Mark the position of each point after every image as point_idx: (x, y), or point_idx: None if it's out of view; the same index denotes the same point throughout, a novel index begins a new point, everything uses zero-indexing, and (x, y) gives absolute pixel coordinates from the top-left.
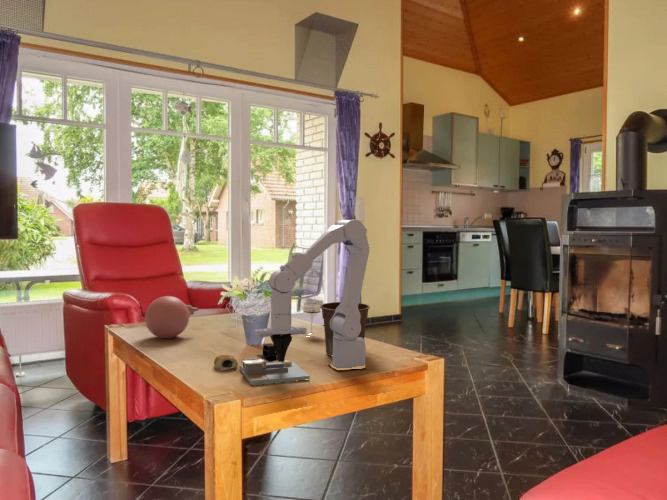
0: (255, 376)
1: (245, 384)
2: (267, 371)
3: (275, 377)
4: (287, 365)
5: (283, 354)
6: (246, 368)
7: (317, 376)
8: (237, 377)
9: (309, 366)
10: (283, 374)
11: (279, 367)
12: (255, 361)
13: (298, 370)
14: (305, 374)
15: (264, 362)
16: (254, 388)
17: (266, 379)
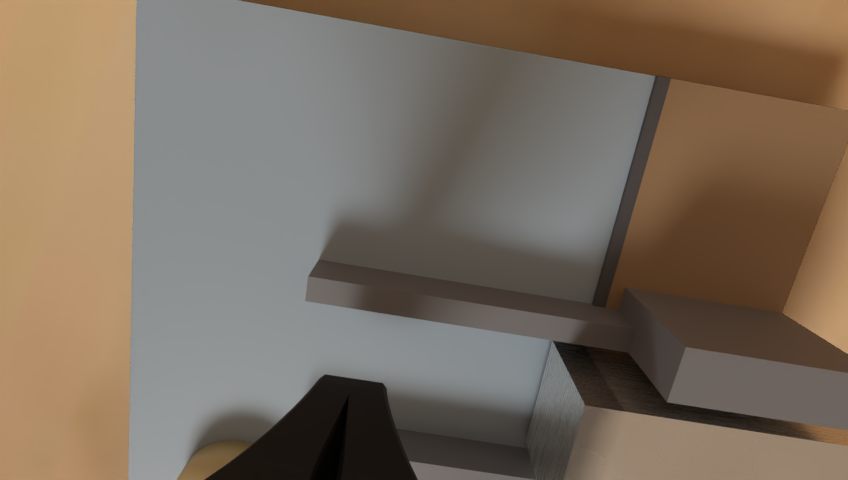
0: (728, 249)
1: (838, 184)
2: (561, 305)
3: (546, 119)
4: (241, 447)
5: (320, 419)
6: None
7: (27, 89)
8: None
9: (2, 441)
10: (410, 187)
11: None
12: (705, 470)
13: (187, 254)
14: (165, 64)
15: (608, 402)
16: (843, 5)
17: (684, 82)
